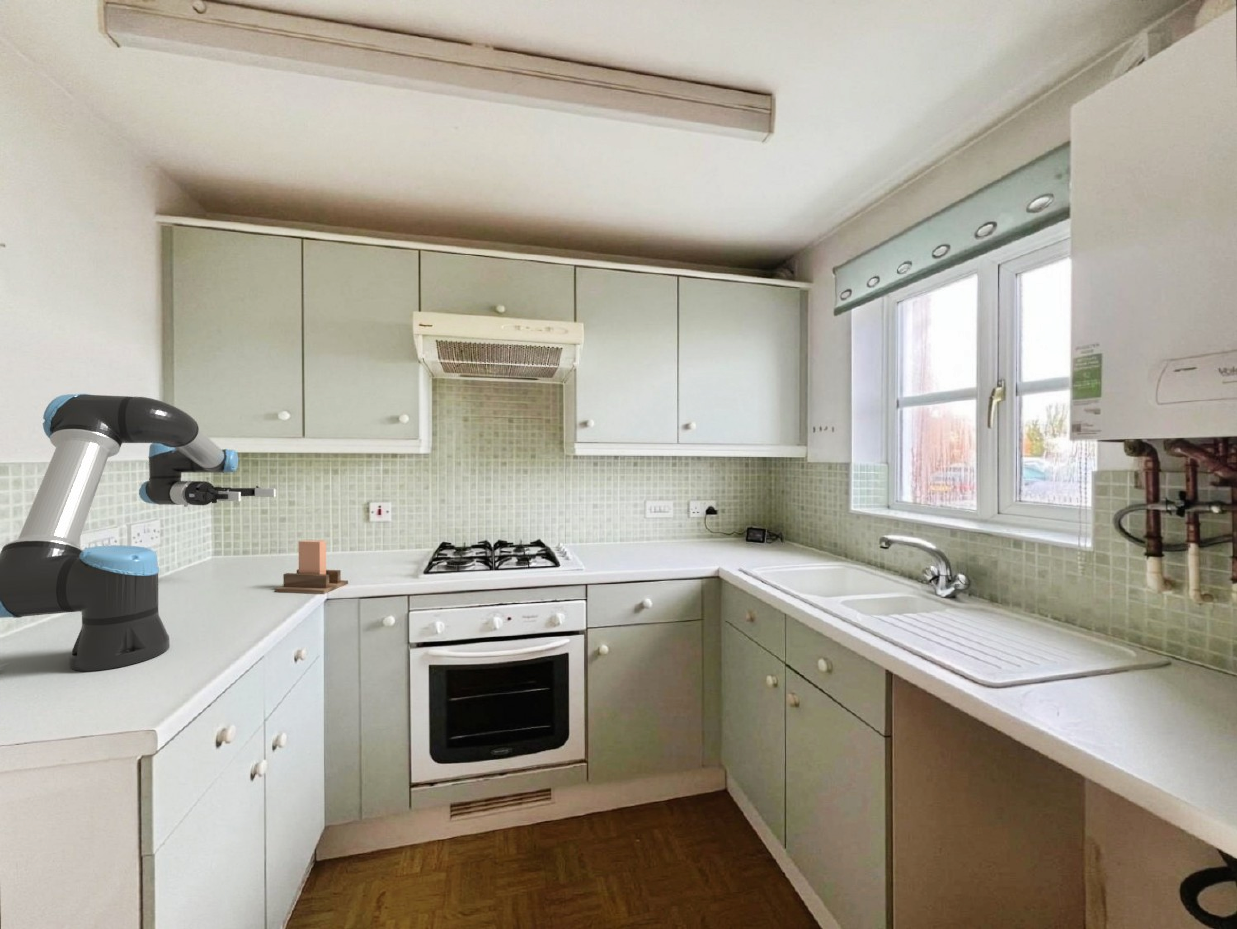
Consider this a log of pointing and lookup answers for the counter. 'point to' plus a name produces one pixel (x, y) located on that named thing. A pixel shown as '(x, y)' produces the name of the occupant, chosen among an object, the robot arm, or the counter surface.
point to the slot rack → (312, 582)
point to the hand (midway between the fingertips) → (258, 494)
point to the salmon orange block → (312, 557)
